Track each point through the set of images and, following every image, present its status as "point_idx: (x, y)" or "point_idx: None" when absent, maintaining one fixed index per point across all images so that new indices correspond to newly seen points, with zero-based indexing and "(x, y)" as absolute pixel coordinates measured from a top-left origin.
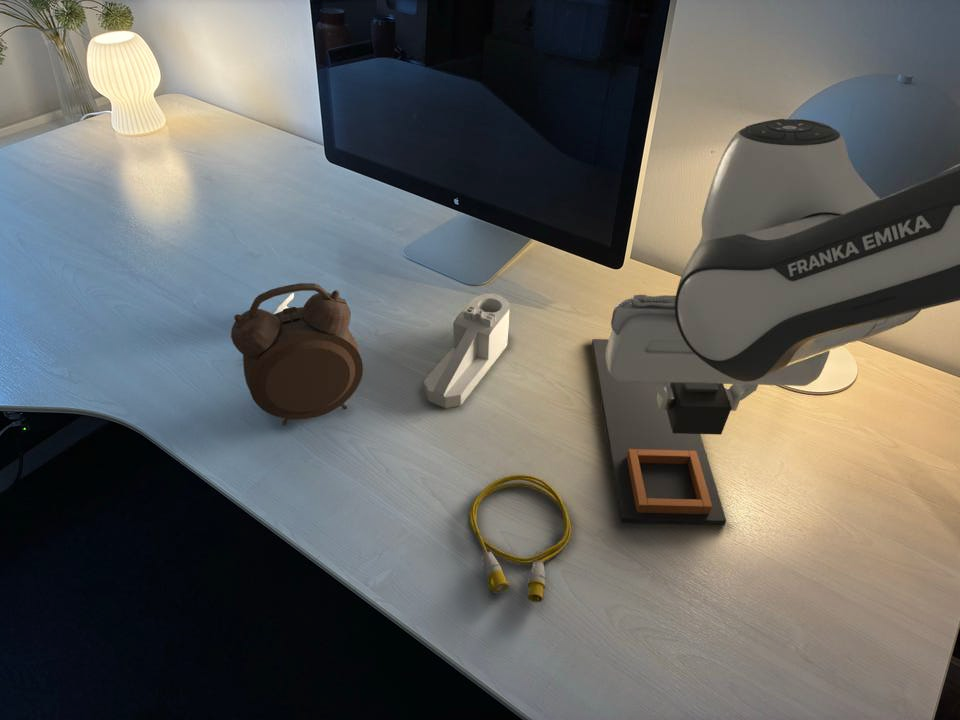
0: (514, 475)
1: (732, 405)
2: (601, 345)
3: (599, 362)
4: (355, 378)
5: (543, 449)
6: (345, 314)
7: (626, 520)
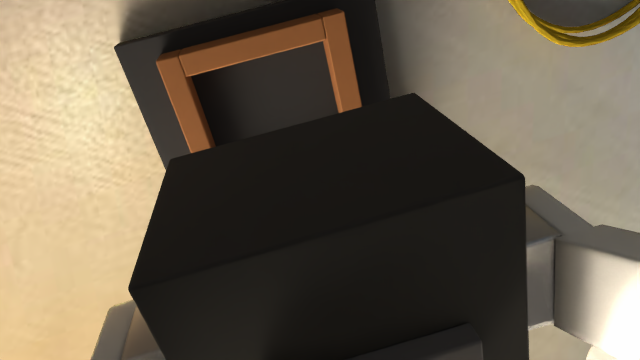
0: (615, 36)
1: (133, 328)
2: None
3: None
4: None
5: (533, 139)
6: None
7: None
